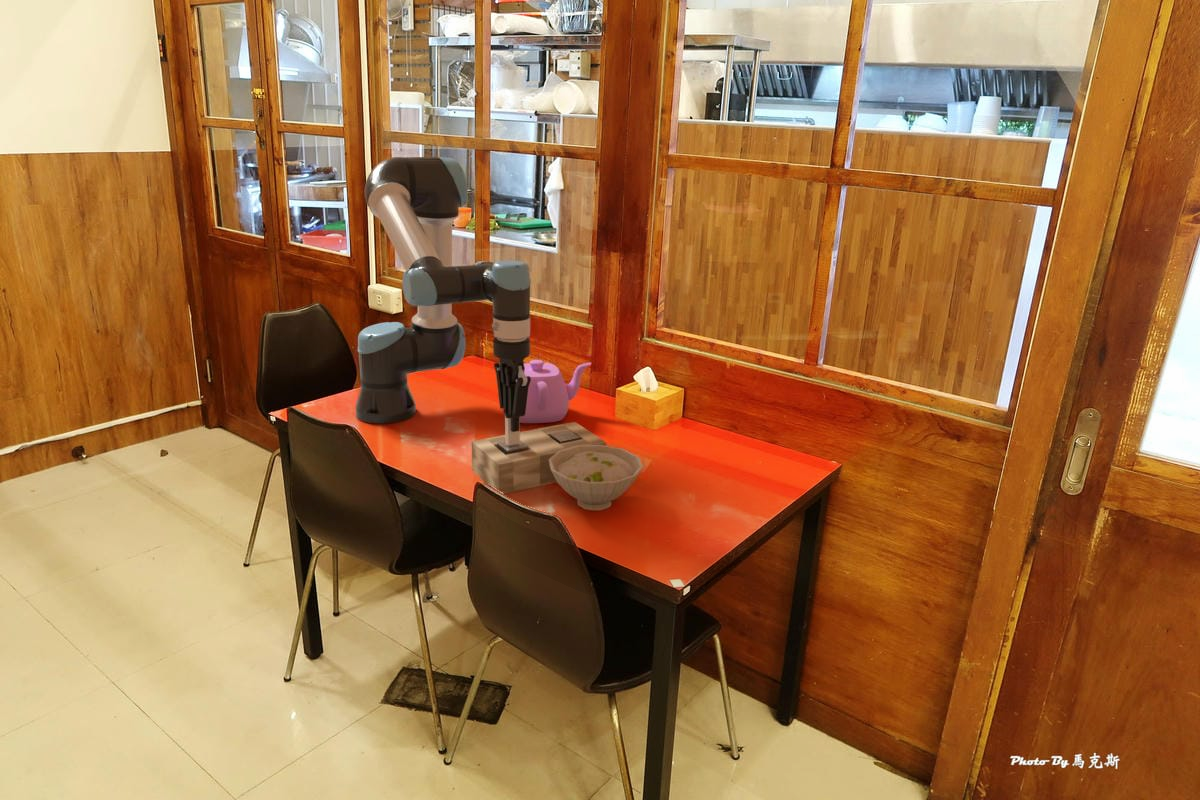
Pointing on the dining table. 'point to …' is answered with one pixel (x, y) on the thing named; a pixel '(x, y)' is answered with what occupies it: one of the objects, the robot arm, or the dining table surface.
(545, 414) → the teapot
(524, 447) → the near peg
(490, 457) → the socket block
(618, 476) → the bowl
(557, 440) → the far peg
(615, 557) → the dining table surface
